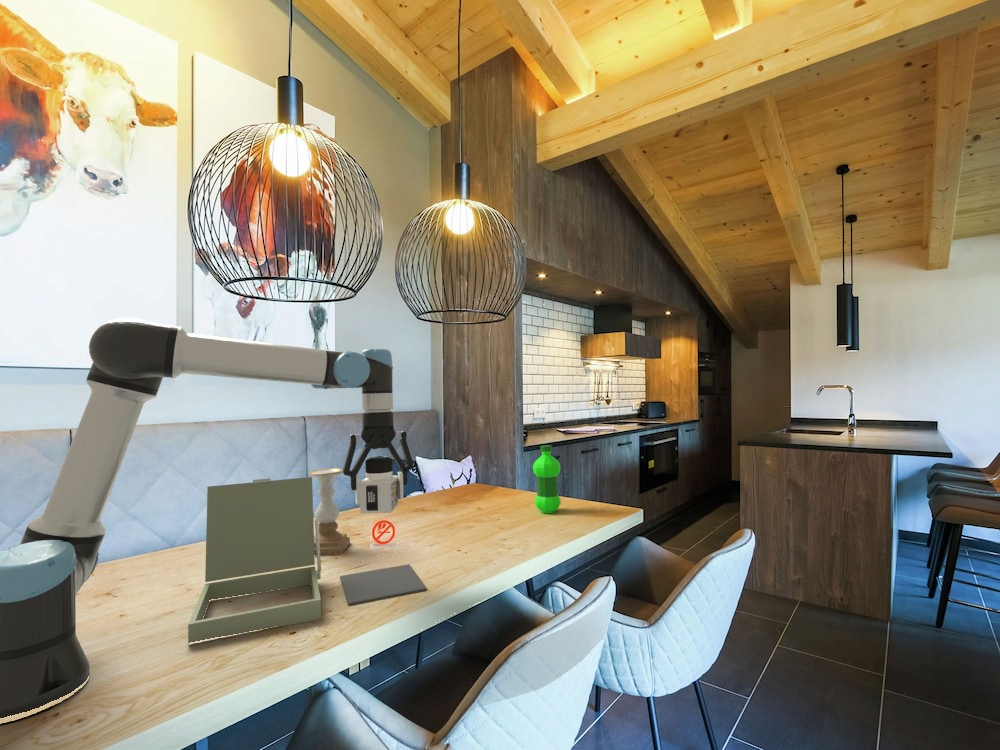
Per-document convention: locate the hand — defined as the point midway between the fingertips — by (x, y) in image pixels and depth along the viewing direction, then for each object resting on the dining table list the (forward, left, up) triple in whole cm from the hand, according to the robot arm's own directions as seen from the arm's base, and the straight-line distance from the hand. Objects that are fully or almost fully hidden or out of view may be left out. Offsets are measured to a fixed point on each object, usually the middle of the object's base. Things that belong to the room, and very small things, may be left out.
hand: (379, 500), depth 123 cm
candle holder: (+35, +10, -21) cm, 42 cm away
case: (0, +26, -20) cm, 33 cm away
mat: (0, 0, -20) cm, 20 cm away
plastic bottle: (+41, -70, -21) cm, 84 cm away
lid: (+12, +27, -5) cm, 30 cm away
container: (0, 0, -2) cm, 2 cm away
